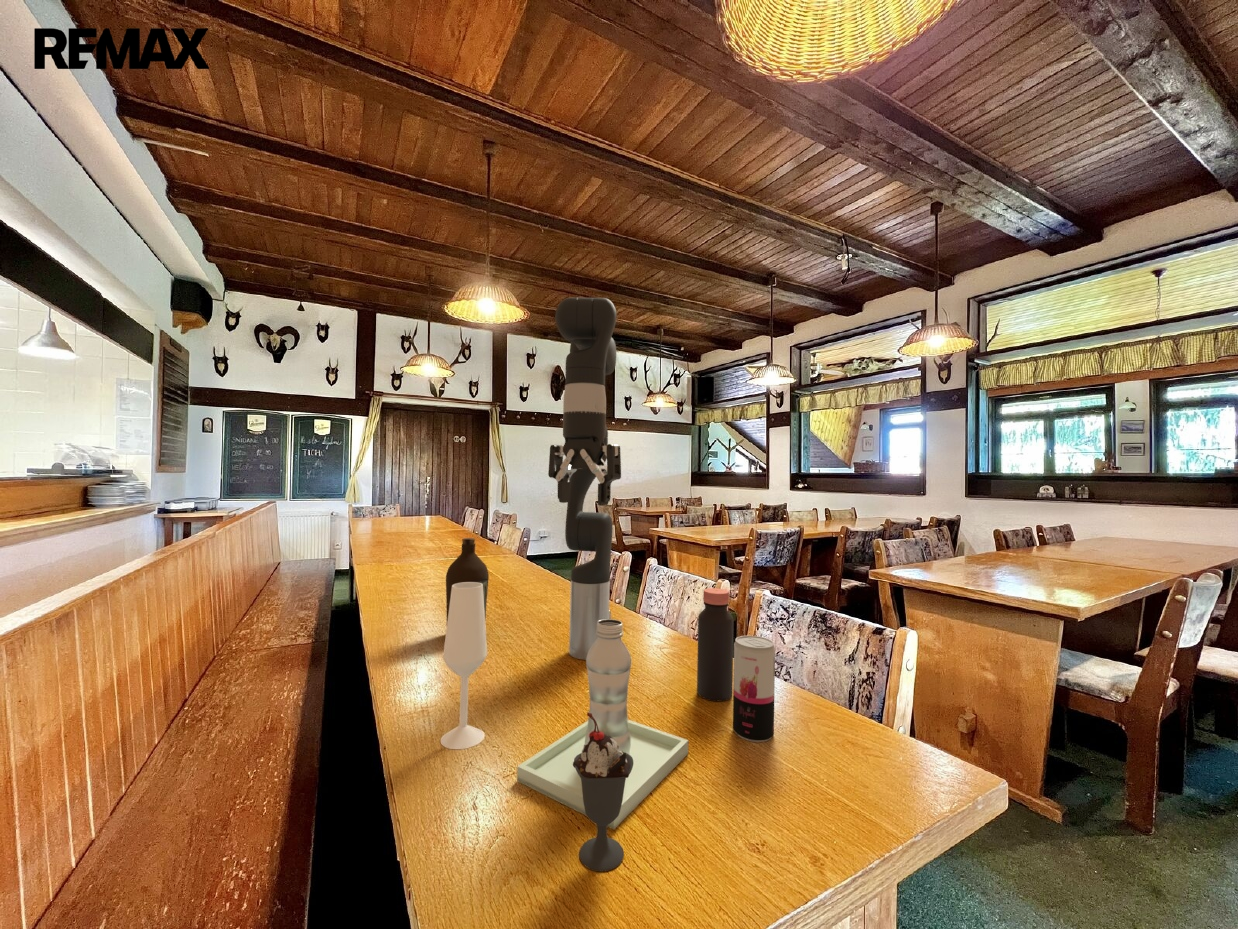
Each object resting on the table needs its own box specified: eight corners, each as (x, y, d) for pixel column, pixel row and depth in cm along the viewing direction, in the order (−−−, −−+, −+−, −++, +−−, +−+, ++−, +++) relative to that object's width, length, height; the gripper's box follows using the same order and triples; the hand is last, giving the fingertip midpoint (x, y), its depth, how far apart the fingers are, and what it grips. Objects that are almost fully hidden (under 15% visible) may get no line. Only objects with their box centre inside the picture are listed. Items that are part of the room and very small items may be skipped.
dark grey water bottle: (739, 694, 96) (740, 591, 97) (720, 705, 92) (722, 596, 92) (709, 684, 101) (710, 585, 102) (690, 694, 96) (691, 590, 97)
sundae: (570, 834, 58) (574, 703, 58) (628, 832, 58) (630, 702, 59) (570, 880, 51) (573, 732, 52) (634, 877, 52) (637, 731, 52)
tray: (602, 722, 84) (602, 710, 84) (688, 753, 75) (688, 740, 75) (517, 781, 68) (517, 766, 68) (614, 829, 59) (614, 812, 59)
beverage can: (751, 747, 77) (753, 650, 78) (724, 728, 83) (726, 638, 84) (782, 738, 81) (783, 644, 81) (754, 720, 86) (755, 633, 87)
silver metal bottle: (626, 779, 68) (629, 631, 68) (578, 772, 69) (581, 627, 69) (634, 753, 74) (636, 618, 74) (590, 747, 75) (593, 614, 76)
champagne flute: (439, 731, 80) (443, 582, 81) (481, 724, 83) (485, 579, 83) (441, 753, 74) (446, 591, 75) (487, 744, 77) (492, 588, 77)
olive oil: (436, 635, 128) (440, 538, 129) (474, 627, 136) (477, 535, 136) (455, 645, 121) (459, 542, 121) (494, 636, 128) (497, 539, 129)
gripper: (630, 412, 87) (628, 505, 87) (566, 415, 94) (565, 500, 94) (605, 407, 80) (604, 507, 80) (539, 411, 88) (538, 502, 88)
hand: (583, 503), depth 87 cm, fingers open, 8 cm apart
